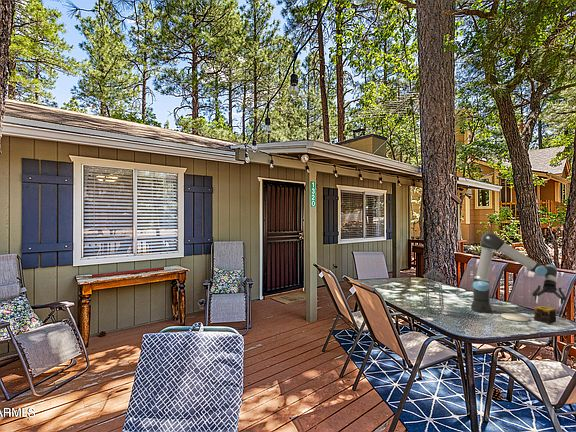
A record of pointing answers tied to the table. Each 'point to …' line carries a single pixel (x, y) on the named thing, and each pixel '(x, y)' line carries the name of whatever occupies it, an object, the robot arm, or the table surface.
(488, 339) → the table surface
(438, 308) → the geometric lantern
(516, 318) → the saucer
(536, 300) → the robot arm
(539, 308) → the mossy brown cube
